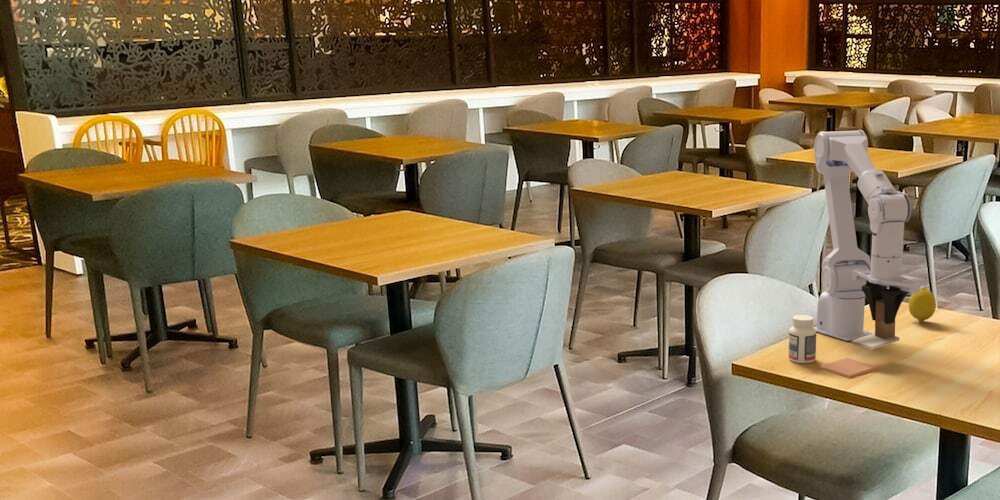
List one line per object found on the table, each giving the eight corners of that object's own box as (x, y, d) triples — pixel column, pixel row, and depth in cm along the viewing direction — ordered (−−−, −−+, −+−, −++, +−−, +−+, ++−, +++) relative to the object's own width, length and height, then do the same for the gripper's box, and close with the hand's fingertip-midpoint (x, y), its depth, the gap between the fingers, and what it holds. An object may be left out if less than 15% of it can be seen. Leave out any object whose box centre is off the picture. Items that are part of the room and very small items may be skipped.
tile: (847, 365, 207) (819, 373, 203) (847, 357, 207) (819, 365, 203) (876, 374, 202) (848, 383, 198) (876, 366, 201) (848, 375, 197)
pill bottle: (816, 356, 210) (817, 314, 208) (814, 364, 205) (816, 322, 203) (789, 354, 212) (790, 312, 210) (787, 362, 207) (788, 320, 205)
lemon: (936, 326, 227) (939, 291, 225) (910, 325, 228) (912, 290, 226) (931, 318, 232) (934, 284, 230) (905, 318, 233) (907, 284, 232)
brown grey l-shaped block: (851, 343, 205) (852, 305, 203) (879, 333, 210) (880, 296, 208) (872, 349, 201) (873, 310, 199) (900, 340, 205) (901, 301, 203)
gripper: (843, 251, 206) (840, 316, 209) (905, 264, 194) (900, 333, 197) (866, 246, 210) (863, 310, 213) (928, 259, 198) (924, 327, 201)
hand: (883, 321), depth 205 cm, fingers closed on brown grey l-shaped block, 2 cm apart
